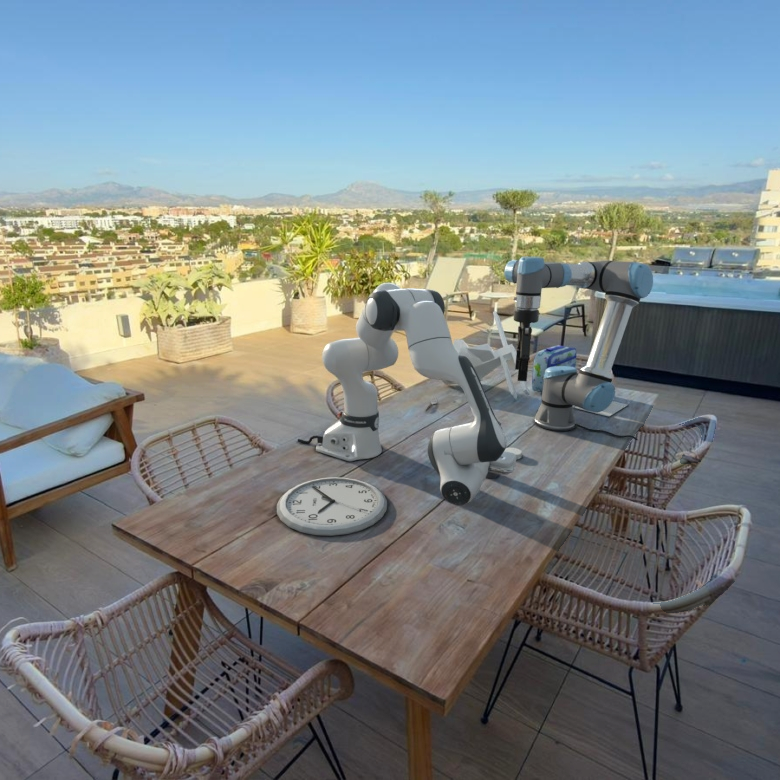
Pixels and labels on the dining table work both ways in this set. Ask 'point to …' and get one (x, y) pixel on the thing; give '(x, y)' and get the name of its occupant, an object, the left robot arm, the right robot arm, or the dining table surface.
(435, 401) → the fork
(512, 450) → the lid
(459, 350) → the white plastic object
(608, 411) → the invitation card
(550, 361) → the lunch box
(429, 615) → the dining table surface
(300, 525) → the wall clock
